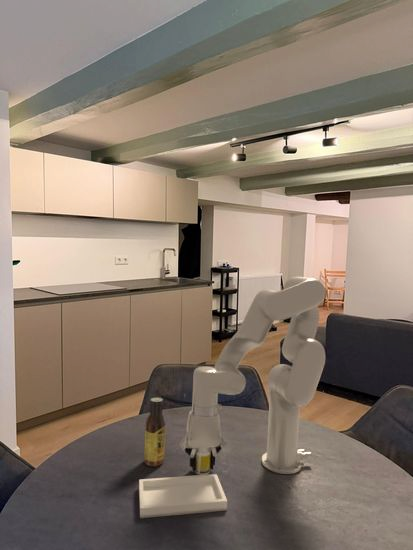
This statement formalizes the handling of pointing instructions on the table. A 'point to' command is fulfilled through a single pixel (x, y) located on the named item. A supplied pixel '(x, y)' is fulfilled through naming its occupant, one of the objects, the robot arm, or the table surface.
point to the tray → (181, 495)
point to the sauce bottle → (155, 434)
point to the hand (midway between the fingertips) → (202, 467)
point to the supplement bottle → (202, 461)
